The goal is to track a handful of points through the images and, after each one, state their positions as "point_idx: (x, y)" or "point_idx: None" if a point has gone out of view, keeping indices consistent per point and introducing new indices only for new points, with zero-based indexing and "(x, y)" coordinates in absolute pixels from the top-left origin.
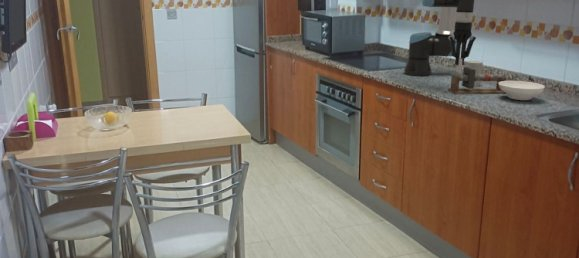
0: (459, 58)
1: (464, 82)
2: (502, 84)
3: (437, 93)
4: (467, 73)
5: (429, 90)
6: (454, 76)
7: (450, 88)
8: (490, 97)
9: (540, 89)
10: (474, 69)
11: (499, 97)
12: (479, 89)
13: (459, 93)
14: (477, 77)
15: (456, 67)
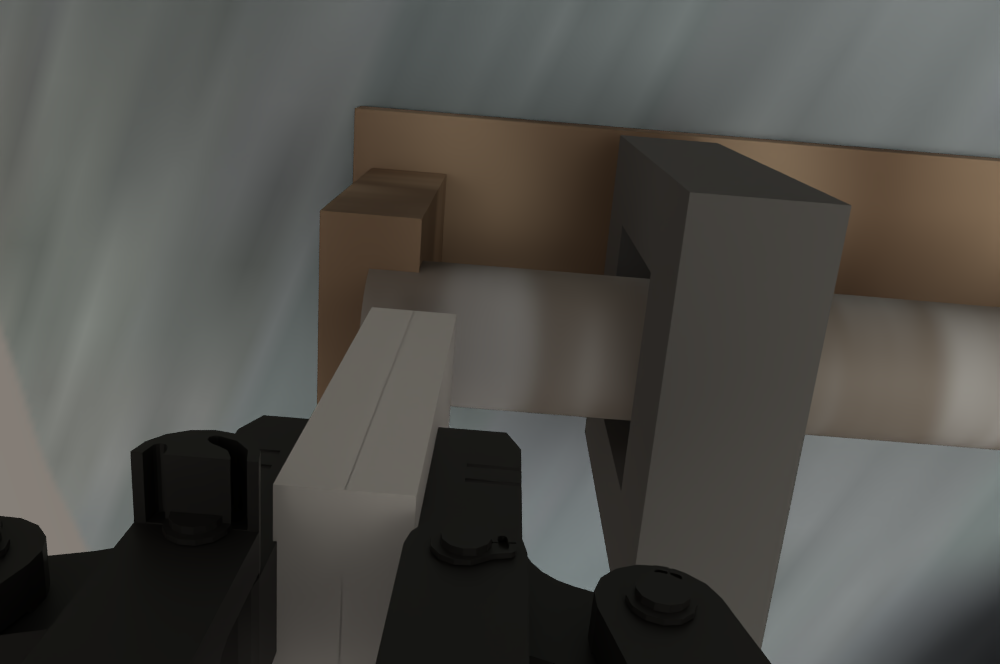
0: (289, 661)
1: (617, 251)
2: None
3: (93, 316)
4: (631, 426)
5: (23, 61)
6: (355, 296)
7: (370, 169)
8: (775, 636)
9: None
10: (765, 601)
11: (903, 648)
12: (892, 248)
13: None
14: (845, 437)
15: (353, 349)
